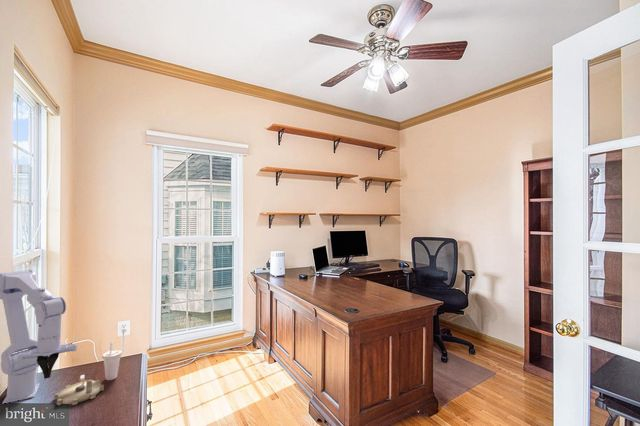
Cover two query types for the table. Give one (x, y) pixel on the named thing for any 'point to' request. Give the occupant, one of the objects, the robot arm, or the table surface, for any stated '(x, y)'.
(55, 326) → the robot arm
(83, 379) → the index pointer
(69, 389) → the sprocket
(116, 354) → the smoothie
